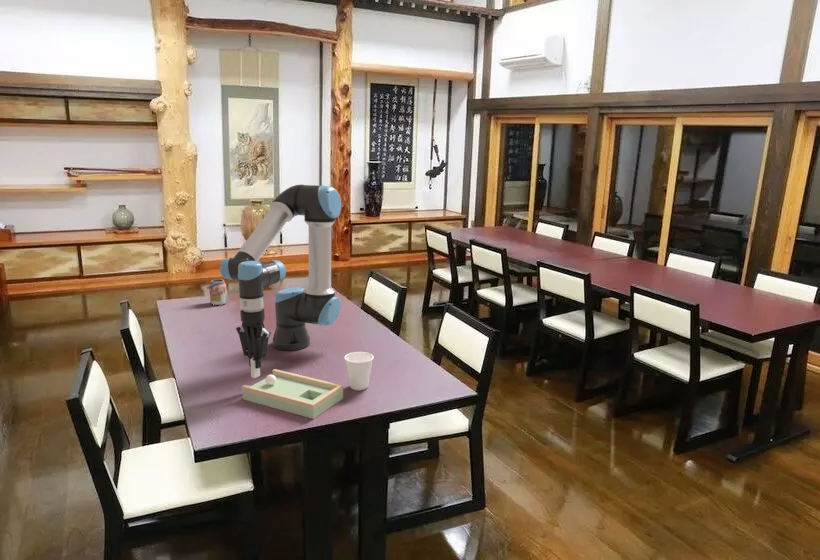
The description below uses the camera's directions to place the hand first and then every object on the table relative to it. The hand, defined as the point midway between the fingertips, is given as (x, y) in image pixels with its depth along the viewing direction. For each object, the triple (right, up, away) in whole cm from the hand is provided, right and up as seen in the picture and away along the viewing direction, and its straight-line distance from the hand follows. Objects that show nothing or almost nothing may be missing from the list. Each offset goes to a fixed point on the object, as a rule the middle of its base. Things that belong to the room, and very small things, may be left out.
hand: (255, 376), depth 194 cm
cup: (+34, -4, +4) cm, 35 cm away
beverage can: (-45, +20, +97) cm, 109 cm away
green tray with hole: (+14, -6, -6) cm, 16 cm away
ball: (+6, -1, -3) cm, 6 cm away
